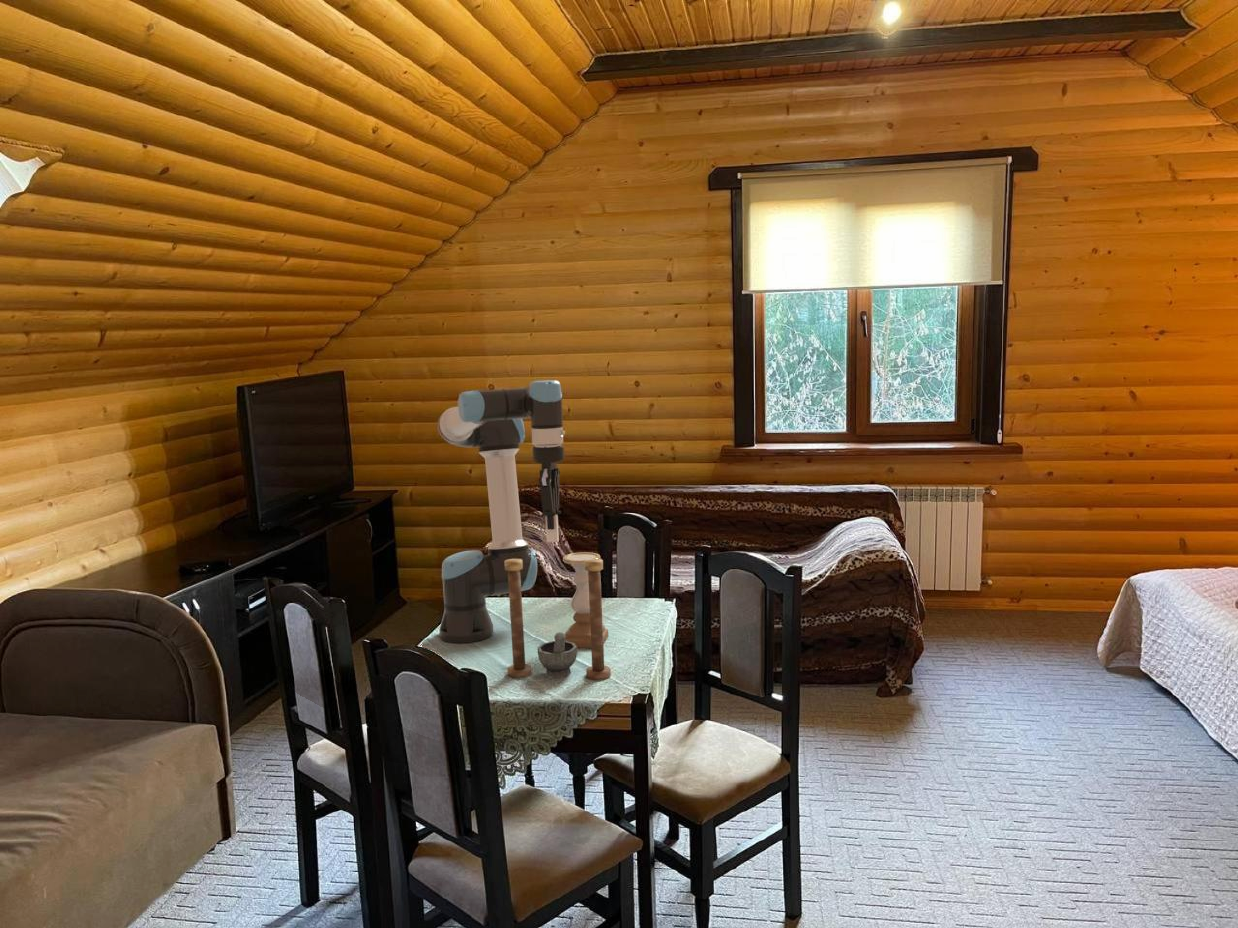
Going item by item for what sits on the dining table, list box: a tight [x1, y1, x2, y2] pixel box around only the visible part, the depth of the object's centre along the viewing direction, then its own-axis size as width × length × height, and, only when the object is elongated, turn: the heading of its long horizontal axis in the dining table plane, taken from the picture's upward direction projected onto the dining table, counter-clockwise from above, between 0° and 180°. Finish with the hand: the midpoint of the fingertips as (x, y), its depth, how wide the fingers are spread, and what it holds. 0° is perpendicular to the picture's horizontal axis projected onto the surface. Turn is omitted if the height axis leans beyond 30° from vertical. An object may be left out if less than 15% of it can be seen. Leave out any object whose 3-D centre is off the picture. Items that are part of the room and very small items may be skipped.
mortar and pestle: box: [537, 632, 578, 679], centre depth 231 cm, size 11×9×12 cm
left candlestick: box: [504, 559, 533, 679], centre depth 231 cm, size 6×6×29 cm
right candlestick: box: [585, 558, 612, 681], centre depth 228 cm, size 6×6×29 cm
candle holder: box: [562, 551, 609, 649], centre depth 254 cm, size 11×11×24 cm
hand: (552, 541), depth 227 cm, fingers closed
